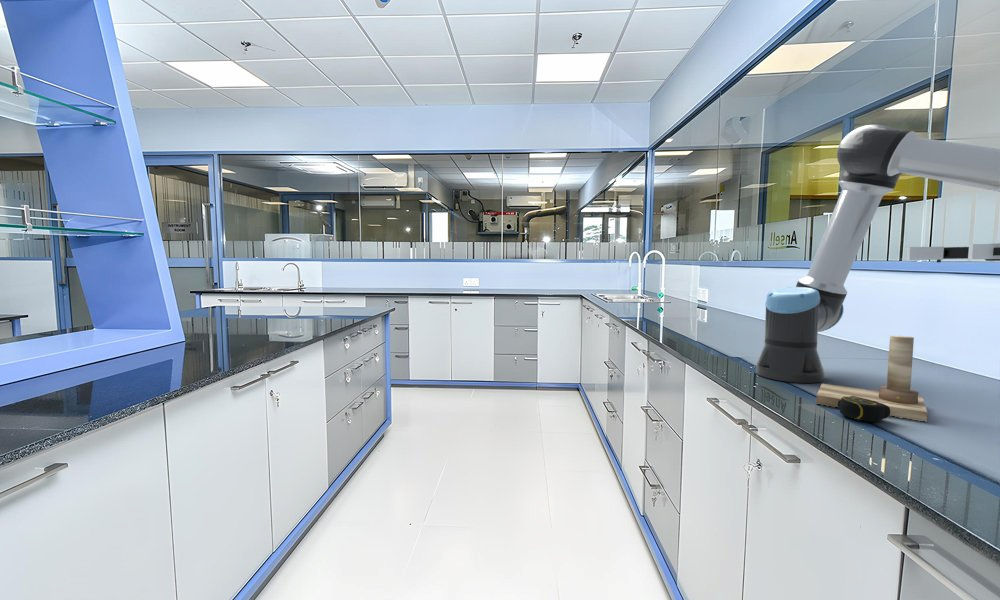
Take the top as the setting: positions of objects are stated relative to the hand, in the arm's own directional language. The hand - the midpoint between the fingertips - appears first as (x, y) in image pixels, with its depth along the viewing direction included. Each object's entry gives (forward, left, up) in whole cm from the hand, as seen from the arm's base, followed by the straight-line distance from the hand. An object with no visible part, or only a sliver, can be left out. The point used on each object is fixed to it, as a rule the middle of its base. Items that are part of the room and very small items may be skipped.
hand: (936, 252), depth 86 cm
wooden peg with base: (+1, -4, -30) cm, 30 cm away
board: (+2, -9, -32) cm, 33 cm away
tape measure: (+12, -10, -32) cm, 36 cm away
